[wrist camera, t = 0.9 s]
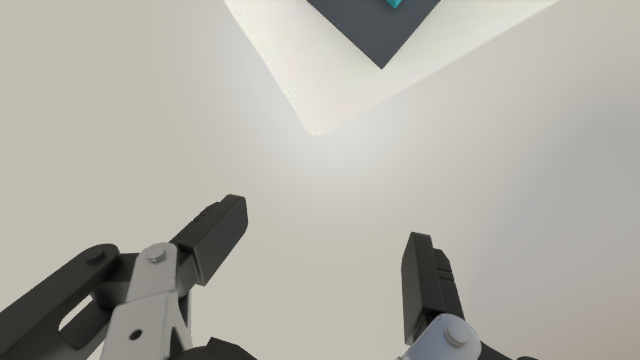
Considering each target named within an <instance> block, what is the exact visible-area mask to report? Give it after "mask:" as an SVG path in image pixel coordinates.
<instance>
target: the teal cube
mask: <svg viewBox="0 0 640 360" xmlns="http://www.w3.org/2000/svg"><path fill="white" fill-rule="evenodd" d="M386 1H387V2H388V3H389V4H390V5H391V6H392V7H393V8H394V9H395V8H396V7H397V6H398V5H399V3H400V2H401V1H402V0H386Z"/></svg>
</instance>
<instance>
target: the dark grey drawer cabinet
mask: <svg viewBox="0 0 640 360" xmlns="http://www.w3.org/2000/svg"><path fill="white" fill-rule="evenodd" d="M307 1H308V2H309V3H310V4H311V5H312V6H313V7H314V8H316V9H317V10H318V11H319V12H320V13H321V14H322V15H323V16H324V17H325V18H326V19H327V20H329V21H330V22H331V23H332V24H333V25H334V26H335V27H336V28H337V29H338V30H339V31H340V32H342V33H343V34H344V35H345V36H346V37H347V38H348V39H349V40H350V41H351V42H352V43H353V44H355V45H356V46H357V47H358V48H359V49H360V50H361V51H362V52H363V53H364V54H365V55H366V56H368V57H369V58H370V59H371V60H372V61H373V62H374V63H375V64H376V65H377V66H378V67H379V68H381V69H383V68H384V67H385V65H386V64H387V63H388V62H389V61H390V60H391V58H392V57H393V56H394V55H395V54H396V52H397V51H398V50H399V49H400V48H401V47H402V45H403V44H404V43H405V42H406V41H407V39H408V38H409V37H410V36H411V35H412V33H413V32H414V31H415V30H416V29H417V28H418V26H419V25H420V24H421V23H422V22H423V20H424V19H425V18H426V17H427V16H428V15H429V13H430V12H431V11H432V10H433V9H434V7H435V6H436V5H437V4H438V3H439V1H440V0H402V1H401V2H400V3H399V5H398V6H397V7H396V8H395V9H394V8H393V7H392V6H391V5H390V4H389V3H388V2H387V1H386V0H307Z"/></svg>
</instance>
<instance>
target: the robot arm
mask: <svg viewBox="0 0 640 360" xmlns="http://www.w3.org/2000/svg"><path fill="white" fill-rule="evenodd" d="M247 226H248V217H247V207H246V200H245V198H244V197H242V196H237V195H232V194H229V195H227V196H226V197H225V198H224V199H223V200H222V201H221V202H216V203H214V204H212V205H210V206H208V207H206V208H205V209H204V210H203V211H202V212H201V213H200V214H199V215H198V216H197V217H195V218H194V219H193V221H191V222H190V223H189V224H188V225H187V226H186V227H185V228H184V229H183V230H181V231H180V232H179V233H178V234H177V235H176V236H175V237H174V238H173V239H172V240H171V241H169V242H168V243H165V242H164V243H158V244H154V245H152V246H150V247H148V248H146V249H144V250H143V251H142V252H141V253H128V254H120V252H119V250H118V248H117V246H115V245H114V244H101V245H96V246H93V247H91V248H88V249H86V250H85V251H83V252H81V253H80V254H78V255H77V256H76V257H74V258H73V259H72V260H70V261H69V262H68V263H66V264H65V265H64V266H62V267H61V268H60V269H58V270H57V271H56V272H54V273H53V274H51V275H50V276H49V277H47V278H46V279H45V280H43V281H42V282H41V283H40V284H38V285H37V286H35V287H34V288H33V289H31V290H30V291H29V292H28V293H26V294H25V295H23V296H22V297H21V298H19V299H18V300H17V301H15V302H14V303H12V304H11V305H10V306H8V307H7V308H6V309H4V310H3V311H2V312H0V360H86V359H87V358H88V357H89V356H90V355H91V354H92V353H93V352H94V350H95V349H96V348H97V347H98V346H99V345H100V344H101V343H102V341H103V340H104V339H105V338H106V339H105V342H104V346H103V349H102V353H101V356H100V360H257V359H256V358H254V357H253V356H252V355H250V354H249V353H248V352H246V351H245V350H244V349H242V348H241V347H240V346H238V345H235V344H232V343H229V342H226V341H223V340H220V339H217V338H213V337H211V338H210V340H209V342H208V344H207V345H206V346H200V347H195V348H193V345H192V339H191V290H190V289H191V288H192V287H193V286H194V284H198V285H202V286H205V285H206V284H207V283H208V281H209V280H210V278H211V277H212V276H213V275H214V273H215V272H216V270H217V269H218V268H219V266H220V265H221V264H222V262H223V261H224V260H225V259H226V257H227V256H228V255H229V253H230V252H231V251H232V249H233V248H234V246H235V245H236V244H237V242H238V241H239V240H240V238H241V237H242V236H243V234H244V233H245V231H246V229H247ZM401 272H402V273H401V274H402V293H403V294H402V295H403V315H404V336H405V344H407V345H410V346H411V347H410V348H409V349H408V350H407V352H406V353H405V354H404V355H403V356H402V357H398V358H397V359H396V360H512V359H510V358H508V357H506V356H504V355H503V354H501V353H499V352H497V351H495V350H494V349H492V348H490V347H489V346H487V345H486V344H484V343H483V342H482V341H480V340H479V337H478V335H477V334H476V332H475V331H474V329H473V328H472V327H471V326H470V325H469V324H468V323H467V322H466V321H465V318H464V315H463V311H462V307H461V303H460V300H459V296H458V292H457V288H456V285H455V283H454V277H453V274H452V270H451V266H450V262H449V260H448V258H447V257H446V256H445V254H444V253H443V252H442V250H439V249H435V248H433V246H432V241H431V237H430V235H426V234H421V233H416V232H411V234H410V237H409V240H408V243H407V246H406V249H405V252H404V255H403V259H402V265H401ZM89 294H90V295H91V297H92V298H93V300H92V301H91V302H90V303H89V304H88V305H87V306H86V307H85V308H84V309H82V310H81V311H80V312H79V313H78V314H77V315H76V316H75V317H74V318H73V319H72V320H71V321H70V322H69V323H68V324H67V325H65V326H64V327H63V328H62V329H61V330H60V331H59V325H60V323H61V321H62V319H63V318H64V317H65V316H66V315H67V314H68V313H69V312H70V311H71V310H72V309H74V308H75V307H76V306H77V305H78V304H79V303H80V302H81V301H82V300H84V299H85V298H86V297H87V296H88V295H89ZM517 360H538V359H535V358H532V357H526V356H524V357H520V358H518V359H517Z"/></svg>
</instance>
